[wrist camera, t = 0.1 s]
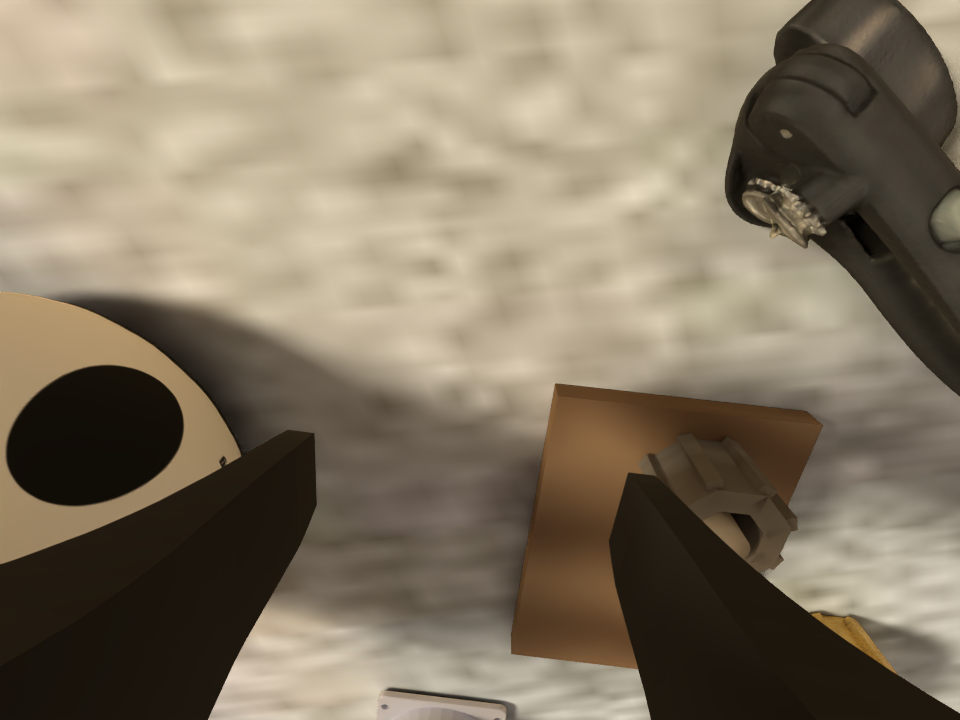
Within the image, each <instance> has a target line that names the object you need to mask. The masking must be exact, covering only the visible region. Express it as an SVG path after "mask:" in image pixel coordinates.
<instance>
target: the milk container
mask: <svg viewBox="0 0 960 720" xmlns="http://www.w3.org/2000/svg"><path fill="white" fill-rule="evenodd" d="M241 456H243V455H242V452H241V449H240V446H239V443H238V441H237V439H236V437H235V435H234V433H233V432H232V430H231V428H230V426H229V425H228V423H227V421H226V420H225V418H224V416H223V415H222V413H221V411H220V410H219V408H218V406H217V405H216V404H215V402H214V401H213V399H212V398H211V397H210V395H209V394H208V392H207V391H206V390H205V389H204V388H203V387H202V386H201V385H200V384H199V383H198V382H197V381H196V380H195V379H194V378H193V377H192V376H191V375H190V374H189V373H188V372H187V371H186V370H185V369H184V368H182V367H181V366H180V365H179V364H178V363H177V362H176V361H175V360H174V359H173V358H172V357H171V356H169V355H168V354H167V353H166V352H164V351H163V350H162V349H161V348H159V347H158V346H157V345H156V344H154V343H152V342H151V341H149V340H148V339H146V338H144V337H143V336H141V335H139V334H138V333H136V332H134V331H132V330H130V329H128V328H126V327H125V326H123V325H121V324H119V323H117V322H115V321H113V320H111V319H109V318H108V317H105V316H103V315H101V314H99V313H96V312H94V311H92V310H89V309H86V308H83V307H79V306H76V305H72V304H68V303H63V302H58V301H54V300H51V299H47V298H43V297H38V296H33V295H27V294H21V293H11V292H0V564H3V563H6V562H9V561H12V560H15V559H18V558H21V557H23V556H26V555H29V554H31V553H34V552H37V551H39V550H42V549H45V548H47V547H50V546H53V545H56V544H58V543H61V542H64V541H66V540H69V539H72V538H74V537H77V536H80V535H82V534H85V533H88V532H90V531H92V530H95V529H97V528H100V527H102V526H104V525H107V524H109V523H111V522H114V521H116V520H118V519H121V518H123V517H125V516H127V515H130V514H132V513H134V512H136V511H138V510H141V509H143V508H145V507H147V506H149V505H151V504H153V503H155V502H158V501H160V500H162V499H163V498H165V497H167V496H169V495H171V494H173V493H175V492H177V491H179V490H181V489H183V488H185V487H187V486H188V485H190V484H192V483H194V482H196V481H198V480H200V479H202V478H204V477H206V476H208V475H209V474H211V473H213V472H215V471H216V470H218V469H220V468H222V467H223V466H225V465H227V464H229V463H230V462H232V461H234V460H236V459H238V458H239V457H241Z"/></svg>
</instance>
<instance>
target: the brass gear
mask: <svg viewBox="0 0 960 720" xmlns="http://www.w3.org/2000/svg"><path fill="white" fill-rule="evenodd" d="M811 615H812V616H814V617H815V618H816V619H818V620H819V621H820V622H822V623H823V624H824V625H826V626H827V627H828V628H830V629H831V630H833V631H834V632H835V633H837V634H838V635H840V636H841V637H842V638H844V639H845V640H847V641H848V642H849V643H851V644H852V645H854V646H855V647H857V648H858V649H860V650H861V651H863V652H864V653H866V654H867V655H869V656H870V657H872V658H873V659H874V660H876V661H877V662H879V663H880V664H882V665H883V666H885V667H886V668H888V669H889V670H891V671H892V672H894V673H895V674H897V673H896V672H895V670H894V669H893V668H892V666H891V665H890V664H889V662H888V661H887V660H886V659H885V657H884V656H883V655H882V653H881V652H880V651H879V649H878V648H877V647H876V645H875V644H874V643H873V641H872V640H871V639H870V637H869V636H868V635H867V633H866V632H865V631H864V629H863V628H862V627H861V626H860V624H859V623H858V622H857V620H855V619H853V618H851V617H849V616H847V617H846V618H843V617H834V616H825V615H821V614H820V613H815V614H811ZM897 675H898V674H897Z"/></svg>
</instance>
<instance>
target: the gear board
mask: <svg viewBox="0 0 960 720" xmlns="http://www.w3.org/2000/svg"><path fill="white" fill-rule="evenodd" d="M822 427H823V425H822V424H821V423H819V422H818V421H817V420H816V419H815V418H814V417H812V416H811V415H810V414H809V413H808V412H806V411H799V410H790V409H781V408H772V407H763V406H754V405H745V404H736V403H727V402H718V401H708V400H699V399H690V398H681V397H672V396H663V395H654V394H645V393H636V392H627V391H618V390H609V389H600V388H591V387H582V386H573V385H564V384H555V388H554V393H553V399H552V405H551V411H550V416H549V422H548V428H547V433H546V439H545V445H544V450H543V456H542V462H541V467H540V473H539V479H538V484H537V490H536V496H535V501H534V507H533V513H532V518H531V524H530V530H529V535H528V541H527V547H526V553H525V558H524V564H523V570H522V575H521V581H520V587H519V592H518V598H517V604H516V609H515V615H514V621H513V626H512V632H511V654H516V655H524V656H533V657H541V658H550V659H558V660H566V661H575V662H583V663H592V664H600V665H609V666H617V667H626V668H634V669H638V666H637V663H636V659H635V656H634V652H633V649H632V645H631V641H630V638H629V634H628V631H627V627H626V624H625V620H624V616H623V613H622V609H621V605H620V602H619V598H618V594H617V591H616V587H615V582H614V575H613V569H612V563H611V555H610V548H609V539H610V535H611V532H612V528H613V524H614V521H615V517H616V514H617V510H618V507H619V503H620V500H621V496H622V493H623V489H624V485H625V482H626V478H627V475H628V472H630V473H638V474H646V475H654V476H656V477H657V478H658V479H660V480H661V481H662V482H663V483H664V484H665V485H666V486H667V487H668V488H669V489H670V490H671V491H672V492H673V493H674V494H675V495H676V496H677V497H678V498H679V499H680V500H682V501H683V502H684V503H685V504H686V505H687V506H688V507H689V508H690V509H691V510H692V511H693V512H694V513H695V514H696V515H697V516H698V517H699V518H700V519H701V520H702V521H703V522H704V523H705V524H706V525H707V526H708V527H709V528H710V529H711V530H712V531H713V532H714V533H715V534H717V535H718V536H719V537H720V538H721V539H722V540H723V541H724V542H725V543H726V544H727V545H728V546H729V547H730V548H732V549H733V550H734V551H735V552H736V553H737V554H738V555H739V556H740V557H742V558H743V559H744V560H745V561H746V562H747V563H748V564H750V565H751V566H752V567H753V568H754V569H755V570H756V571H758V572H762V571H764V570H766V569H768V568H770V569H772V570H773V569H775V568H776V567H777V566H778V565H779V564H780V563H781V562H782V561H783V560H784V559H783V558H782V556H781V555H780V553H781V551H782V549H783V546H784V544H785V542H786V540H787V538H788V535H789V533H790V531H796V530H798V528H797V517H796V516H795V515H794V514H793V512H792V511H791V510H790V509H789V507H788V504H789V501H790V499H791V497H792V495H793V492H794V490H795V488H796V485H797V483H798V481H799V479H800V476H801V474H802V472H803V470H804V467H805V465H806V463H807V461H808V458H809V456H810V454H811V451H812V449H813V447H814V445H815V442H816V440H817V438H818V436H819V433H820V431H821V429H822Z"/></svg>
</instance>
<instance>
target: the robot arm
mask: <svg viewBox="0 0 960 720" xmlns="http://www.w3.org/2000/svg"><path fill="white" fill-rule="evenodd" d="M316 505H317V499H316V469H315V439H314V433H308V432H300V431H292V430H287V431H285V432H283V433H281V434H279V435H277V436H276V437H274V438H272V439H270V440H269V441H267V442H265V443H263V444H262V445H260V446H258V447H256V448H255V449H253V450H251V451H250V452H248V453H246V454H244V455H243V456H241V457H239V458H238V459H236V460H234V461H232V462H230V463H229V464H227V465H225V466H223V467H222V468H220V469H218V470H216V471H215V472H213V473H211V474H209V475H208V476H206V477H204V478H202V479H200V480H198V481H196V482H194V483H192V484H190V485H188V486H187V487H185V488H183V489H181V490H179V491H177V492H175V493H173V494H171V495H169V496H167V497H165V498H163V499H162V500H160V501H158V502H155V503H153V504H151V505H149V506H147V507H145V508H143V509H141V510H138V511H136V512H134V513H132V514H130V515H127V516H125V517H123V518H121V519H118V520H116V521H114V522H111V523H109V524H107V525H104V526H102V527H100V528H97V529H95V530H92V531H90V532H88V533H85V534H82V535H80V536H77V537H74V538H72V539H69V540H66V541H64V542H61V543H58V544H56V545H53V546H50V547H47V548H45V549H42V550H39V551H37V552H34V553H31V554H29V555H26V556H23V557H21V558H18V559H15V560H12V561H9V562H6V563H3V564H0V720H208V718H209V716H210V713H211V711H212V709H213V707H214V705H215V703H216V700H217V698H218V696H219V694H220V692H221V690H222V687H223V685H224V683H225V681H226V679H227V677H228V674H229V672H230V670H231V668H232V666H233V664H234V661H235V660H236V658H237V656H238V654H239V652H240V650H241V648H242V646H243V644H244V642H245V641H246V639H247V637H248V635H249V633H250V632H251V630H252V628H253V627H254V625H255V623H256V621H257V620H258V618H259V616H260V614H261V613H262V611H263V609H264V607H265V606H266V604H267V602H268V601H269V599H270V597H271V595H272V594H273V592H274V590H275V588H276V587H277V585H278V583H279V581H280V580H281V578H282V576H283V574H284V573H285V571H286V569H287V567H288V566H289V564H290V562H291V560H292V559H293V557H294V555H295V553H296V551H297V550H298V548H299V546H300V544H301V542H302V539H303V537H304V535H305V532H306V530H307V528H308V525H309V523H310V520H311V518H312V515H313V513H314V510H315V508H316ZM609 548H610V555H611V563H612V569H613V575H614V582H615V587H616V591H617V594H618V598H619V602H620V605H621V609H622V613H623V616H624V620H625V624H626V627H627V631H628V634H629V638H630V641H631V645H632V649H633V652H634V656H635V659H636V663H637V666H638V670H639V673H640V677H641V681H642V684H643V688H644V691H645V696H646V700H647V704H648V708H649V712H650V717H651V720H960V713H958V712H957V711H955V710H953V709H952V708H950V707H948V706H947V705H945V704H943V703H942V702H940V701H938V700H937V699H935V698H933V697H932V696H930V695H928V694H927V693H925V692H924V691H922V690H920V689H919V688H917V687H916V686H914V685H913V684H911V683H909V682H908V681H906V680H905V679H903V678H902V677H900V676H898V675H897V674H895V673H894V672H892V671H891V670H889V669H888V668H886V667H885V666H883V665H882V664H880V663H879V662H877V661H876V660H874V659H873V658H872V657H870V656H869V655H867V654H866V653H864V652H863V651H861V650H860V649H858V648H857V647H855V646H854V645H852V644H851V643H849V642H848V641H847V640H845V639H844V638H842V637H841V636H840V635H838V634H837V633H835V632H834V631H833V630H831V629H830V628H828V627H827V626H826V625H824V624H823V623H822V622H820V621H819V620H818V619H816V618H815V617H814V616H812V615H811V614H810V613H809V612H807V611H806V610H805V609H803V608H802V607H801V606H799V605H798V604H797V603H795V602H794V601H793V600H792V599H790V598H789V597H788V596H786V595H785V594H784V593H783V592H781V591H780V590H779V589H778V588H777V587H775V586H774V585H773V584H772V583H770V582H769V581H768V580H767V579H766V578H765V577H763V576H762V575H761V574H760V573H759V572H758V571H756V570H755V569H754V568H753V567H752V566H751V565H750V564H748V563H747V562H746V561H745V560H744V559H743V558H742V557H740V556H739V555H738V554H737V553H736V552H735V551H734V550H733V549H732V548H730V547H729V546H728V545H727V544H726V543H725V542H724V541H723V540H722V539H721V538H720V537H719V536H718V535H717V534H715V533H714V532H713V531H712V530H711V529H710V528H709V527H708V526H707V525H706V524H705V523H704V522H703V521H702V520H701V519H700V518H699V517H698V516H697V515H696V514H695V513H694V512H693V511H692V510H691V509H690V508H689V507H688V506H687V505H686V504H685V503H684V502H683V501H682V500H680V499H679V498H678V497H677V496H676V495H675V494H674V493H673V492H672V491H671V490H670V489H669V488H668V487H667V486H666V485H665V484H664V483H663V482H662V481H661V480H660V479H658V478H657V477H656V476H654V475H646V474H638V473H630V472H628V475H627V478H626V482H625V485H624V489H623V493H622V496H621V500H620V503H619V507H618V510H617V514H616V517H615V521H614V524H613V528H612V532H611V535H610V539H609ZM506 716H507V710H506V707H505V706H503V705H501V704H495V703H486V702H478V701H470V700H461V699H453V698H445V697H436V696H428V695H420V694H411V693H403V692H395V691H382V692H381V693H380V694H379V697H378V716H377V720H506Z"/></svg>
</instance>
